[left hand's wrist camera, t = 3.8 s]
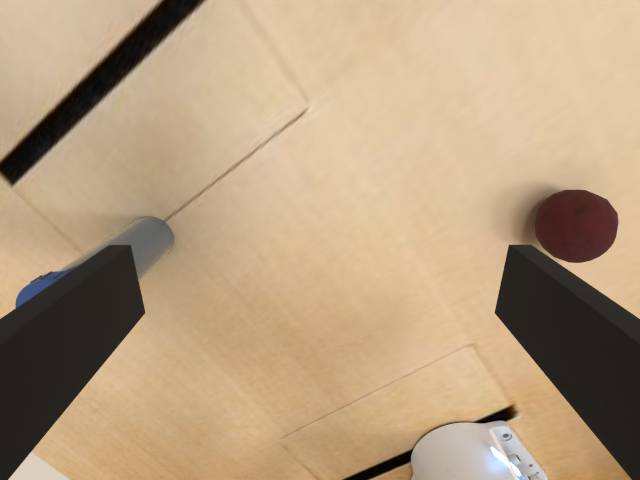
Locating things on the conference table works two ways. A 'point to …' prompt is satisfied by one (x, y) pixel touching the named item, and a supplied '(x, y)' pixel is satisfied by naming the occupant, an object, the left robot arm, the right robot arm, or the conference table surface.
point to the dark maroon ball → (576, 225)
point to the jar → (137, 244)
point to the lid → (38, 286)
